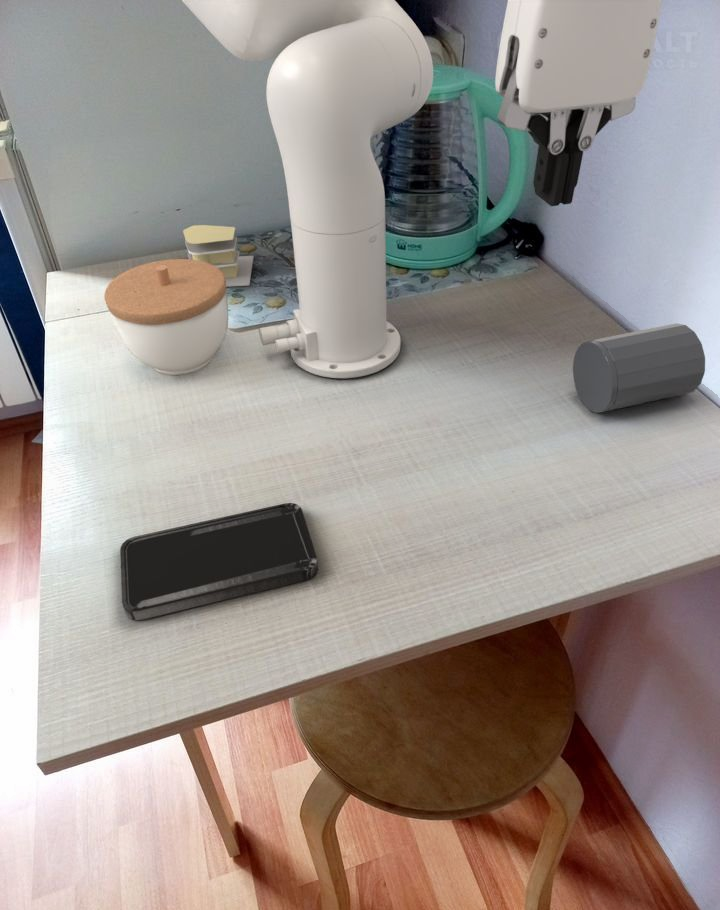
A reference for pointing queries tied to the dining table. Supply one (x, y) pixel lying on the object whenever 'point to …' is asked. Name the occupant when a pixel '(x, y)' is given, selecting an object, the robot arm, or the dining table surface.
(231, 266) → the stacked layers on plate
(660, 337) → the cup
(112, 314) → the lidded bowl
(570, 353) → the dining table surface
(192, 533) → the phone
